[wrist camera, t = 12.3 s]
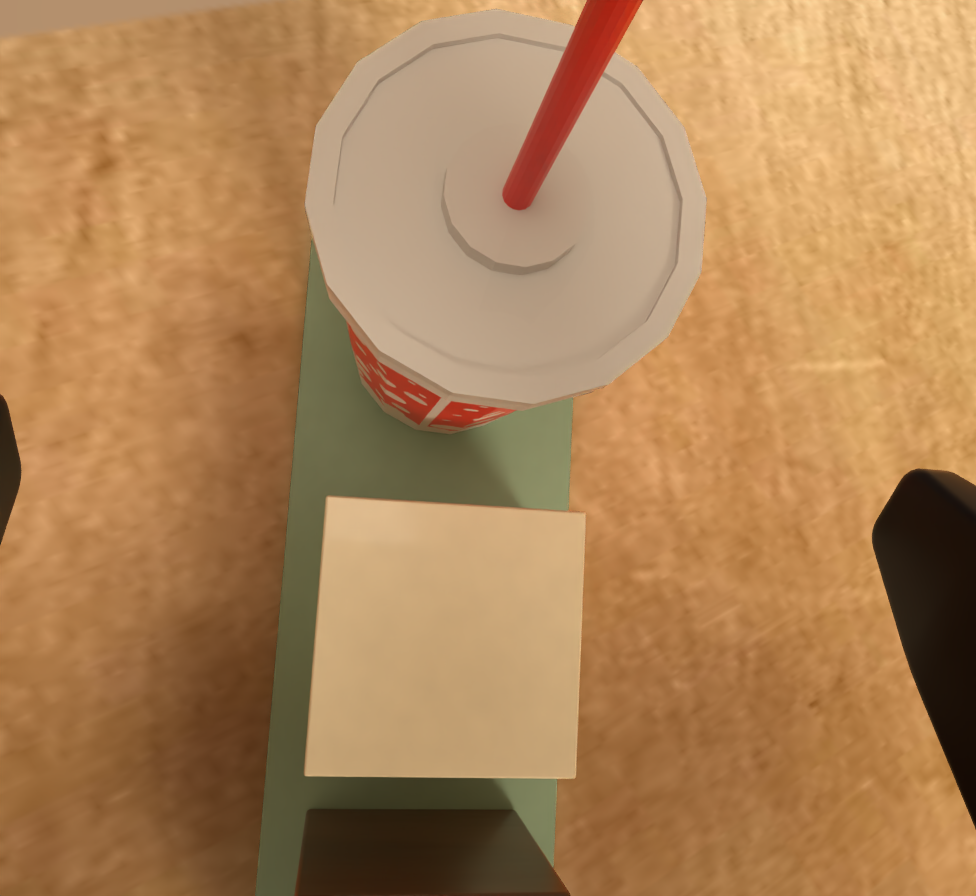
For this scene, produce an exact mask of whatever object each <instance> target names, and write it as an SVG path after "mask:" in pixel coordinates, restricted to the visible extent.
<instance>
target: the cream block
mask: <svg viewBox="0 0 976 896" xmlns="http://www.w3.org/2000/svg"><path fill="white" fill-rule="evenodd" d="M585 532H586V513H585V512H579V511H564V510H548V509H533V508H518V507H502V506H487V505H471V504H456V503H441V502H425V501H410V500H395V499H379V498H364V497H348V496H333V495H328V496H327V497H326V501H325V513H324V526H323V538H322V551H321V563H320V576H319V588H318V601H317V613H316V626H315V638H314V651H313V663H312V676H311V688H310V700H309V713H308V725H307V738H306V750H305V763H304V775H305V776H317V777H420V778H522V779H574V778H575V777H576V763H577V737H578V712H579V686H580V660H581V635H582V609H583V583H584V558H585Z"/></svg>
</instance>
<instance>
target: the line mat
mask: <svg viewBox="0 0 976 896" xmlns="http://www.w3.org/2000/svg"><path fill="white" fill-rule="evenodd" d="M572 413H573V397H572V398H568V399H565V400H561V401H557V402H553V403H550V404H546V405H542V406H538V407H535V408H531V409H527V410H523V411H519V410H516V411H514V412H512V413H510V414H508V415H505V416H503V417H501V418H499V419H497V420H495V421H492V422H490V423H488V424H486V425H483V426H480V427H476V428H472V429H469V430H465V431H461V432H457V433H454V434H444V433H437V432H429V431H422V430H415V429H413V428H411V427H410V426H408V425H406V424H404V423H403V422H401V421H399V420H397V419H396V418H394V417H392V416H390V415H389V414H387V413H385V412H384V411H383V410H382V409H381V407H380V406H379V405H378V404H377V402H376V401H375V400H374V398H373V397H372V396H371V395H370V393H369V392H368V391H367V390H366V388H365V387H364V386H363V384H362V383H361V379H360V375H359V372H358V368H357V365H356V361H355V357H354V354H353V350H352V346H351V341H350V337H349V332H348V328H347V323H346V320H345V318H344V317H343V316H342V314H341V313H340V312H339V311H338V309H337V308H336V307H335V306H334V304H333V303H332V302H331V300H330V299H329V296H328V292H327V288H326V285H325V281H324V278H323V274H322V270H321V267H320V263H319V260H318V256H317V252H316V249H315V245H314V242H313V238H312V240H311V252H310V263H309V275H308V287H307V298H306V310H305V321H304V333H303V345H302V356H301V368H300V380H299V391H298V403H297V415H296V426H295V438H294V449H293V461H292V473H291V484H290V496H289V508H288V519H287V531H286V542H285V554H284V566H283V577H282V589H281V601H280V612H279V624H278V636H277V647H276V659H275V670H274V682H273V694H272V705H271V717H270V729H269V740H268V752H267V764H266V775H265V787H264V798H263V810H262V822H261V833H260V845H259V857H258V868H257V880H256V892H255V896H294V893H295V886H296V879H297V872H298V865H299V858H300V851H301V844H302V837H303V830H304V823H305V816H306V812H307V810H309V809H478V810H515V811H516V812H517V813H518V815H519V816H520V818H521V819H522V821H523V823H524V824H525V826H526V827H527V829H528V830H529V832H530V833H531V835H532V836H533V838H534V839H535V841H536V842H537V844H538V846H539V847H540V849H541V850H542V852H543V853H544V855H545V856H546V858H547V859H548V861H549V862H550V864H551V866H552V867H553V868H554V844H555V820H556V796H557V779H522V778H420V777H317V776H305V775H304V763H305V750H306V738H307V725H308V713H309V700H310V688H311V676H312V663H313V651H314V638H315V626H316V613H317V601H318V588H319V576H320V563H321V551H322V538H323V526H324V513H325V501H326V497H327V496H328V495H333V496H348V497H364V498H379V499H395V500H410V501H425V502H441V503H456V504H471V505H487V506H502V507H518V508H533V509H548V510H564V511H568V509H569V485H570V461H571V437H572Z"/></svg>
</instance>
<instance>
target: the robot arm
mask: <svg viewBox="0 0 976 896" xmlns="http://www.w3.org/2000/svg"><path fill="white" fill-rule="evenodd" d="M20 481H21V462H20V457H19V453H18V448H17V444H16V439H15V435H14V431H13V426H12V422H11V417H10V413H9V409H8V405H7V403H6V401H5V399H4V397H3V396H2V395H1V394H0V545H1V542H2V539H3V535H4V532H5V529H6V526H7V523H8V520H9V517H10V514H11V511H12V508H13V505H14V502H15V499H16V496H17V493H18V490H19V486H20ZM872 544H873V549H874V552H875V555H876V559H877V562H878V565H879V569H880V572H881V575H882V579H883V582H884V585H885V589H886V592H887V596H888V599H889V602H890V606H891V609H892V612H893V616H894V619H895V622H896V626H897V629H898V632H899V636H900V639H901V642H902V646H903V649H904V652H905V655H906V658H907V661H908V664H909V667H910V670H911V673H912V675H913V678H914V681H915V683H916V686H917V688H918V691H919V693H920V696H921V698H922V701H923V703H924V705H925V708H926V710H927V713H928V715H929V717H930V720H931V722H932V725H933V727H934V730H935V732H936V734H937V737H938V739H939V742H940V744H941V746H942V749H943V751H944V754H945V756H946V758H947V761H948V763H949V766H950V768H951V771H952V773H953V775H954V778H955V780H956V783H957V785H958V787H959V790H960V792H961V795H962V797H963V800H964V802H965V804H966V807H967V809H968V812H969V814H970V816H971V819H972V821H973V824H974V826H975V828H976V486H975V485H974V484H972V483H970V482H969V481H967V480H965V479H964V478H962V477H960V476H958V475H957V474H955V473H952V472H949V471H942V470H930V469H915V470H911V471H910V472H908V473H907V474H906V475H904V477H903V478H902V479H901V481H900V482H899V484H898V486H897V487H896V489H895V491H894V492H893V494H892V496H891V497H890V499H889V501H888V502H887V504H886V505H885V507H884V509H883V510H882V512H881V514H880V515H879V517H878V519H877V520H876V522H875V524H874V528H873V532H872Z"/></svg>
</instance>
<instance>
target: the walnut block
mask: <svg viewBox="0 0 976 896" xmlns="http://www.w3.org/2000/svg"><path fill="white" fill-rule="evenodd" d="M294 896H570V893H569V892H568V890H567V889H566V887H565V885H564V884H563V882H562V881H561V879H560V878H559V876H558V875H557V873H556V872H555V870H554V869H553V867H552V866H551V864H550V862H549V861H548V859H547V858H546V856H545V855H544V853H543V852H542V850H541V849H540V847H539V846H538V844H537V842H536V841H535V839H534V838H533V836H532V835H531V833H530V832H529V830H528V829H527V827H526V826H525V824H524V823H523V821H522V819H521V818H520V816H519V815H518V813H517V812H516V811H515V810H478V809H309V810H307V812H306V816H305V823H304V830H303V837H302V844H301V851H300V858H299V865H298V872H297V879H296V886H295V893H294Z"/></svg>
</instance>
